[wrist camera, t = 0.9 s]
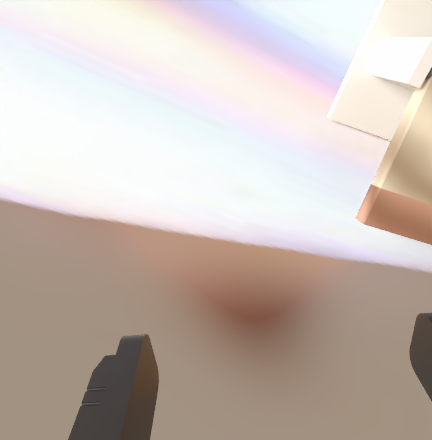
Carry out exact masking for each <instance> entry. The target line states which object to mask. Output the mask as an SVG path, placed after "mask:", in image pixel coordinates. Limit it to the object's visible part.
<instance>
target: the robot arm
mask: <svg viewBox="0 0 432 440" xmlns="http://www.w3.org/2000/svg"><path fill="white" fill-rule="evenodd" d="M410 360H411V364H412V367H413V369H414V371H415V373H416V375H417V377H418V378H419V380H420V382H421V384H422V385H423V387H424V389H425V390H426V392H427V394H428V395H429V397H430V399H431V401H432V313H422V314H419V315H418V316H417V318H416V322H415V327H414V332H413V336H412V341H411V346H410ZM158 382H159V376H158V367H157V363H156V360H155V356H154V353H153V349H152V345H151V342H150V338H149V336H148V335H147V334H145V335H132V336H123V337H122V338H121V340H120V343H119V346H118V350H117V353H116V355H109V356H105V357H104V358H103V359H102V361H101V362H100V363H99V364H98V366H97V367H96V368H95V369H94V371H93V373H92V376H91V378H90V381H89V384H88V387H87V392H85V395H84V398H83V400H82V406H81V407H80V409H79V412H78V414H77V417H76V420H75V423H74V425H73V428H72V431H71V434H70V436H69V439H68V440H150V435H151V429H152V423H153V417H154V411H155V405H156V399H157V392H158V384H159V383H158Z"/></svg>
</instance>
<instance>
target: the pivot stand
mask: <svg viewBox="0 0 432 440" xmlns="http://www.w3.org/2000/svg"><path fill="white" fill-rule="evenodd" d="M431 67H432V0H380V2H379V4H378V6H377V8H376V10H375V12H374V15H373V17H372V19H371V21H370V23H369V26H368V28H367V30H366V32H365V34H364V36H363V39H362V41H361V43H360V45H359V47H358V49H357V52H356V54H355V56H354V58H353V60H352V63H351V65H350V67H349V69H348V71H347V73H346V76H345V78H344V80H343V82H342V84H341V86H340V89H339V91H338V93H337V95H336V97H335V100H334V102H333V104H332V106H331V108H330V110H329V113H328V115H327V118H329V119H331V120H334V121H336V122H339V123H342V124H345V125H348V126H351V127H354V128H357V129H359V130H362V131H365V132H368V133H371V134H374V135H377V136H379V137H382V138H385V139H388V140H392V138H393V136H394V134H395V131H396V129H397V127H398V125H399V123H400V120H401V118H402V116H403V114H404V112H405V109H406V107H407V105H408V103H409V101H410V98H411V96H412V94H413V92H414V90H415V87H417V88H420V87H421V85H422V84H423V82H424V80H425V78H426V76H427V75H428V73H429V71H430V69H431Z"/></svg>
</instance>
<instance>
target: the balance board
mask: <svg viewBox="0 0 432 440" xmlns="http://www.w3.org/2000/svg"><path fill="white" fill-rule="evenodd" d="M356 219H358V220H359V221H360V222H362V223H363V224H365V225H369V226H372V227H375V228H378V229H382V230H385V231H388V232H391V233H395V234H398V235H401V236H405V237H408V238H411V239H414V240H418V241H421V242H424V243H427V244H431V245H432V67H431V69H430V71H429V73H428V75H427V76H426V78H425V80H424V82H423V84H422V85H421V87H420V88H417V87H415V90H414V92H413V94H412V96H411V98H410V101H409V103H408V105H407V107H406V109H405V112H404V114H403V116H402V118H401V120H400V123H399V125H398V127H397V129H396V131H395V134H394V136H393V138H392V140H391V142H390V145H389V147H388V149H387V151H386V154H385V156H384V158H383V160H382V162H381V165H380V167H379V169H378V171H377V173H376V176H375V178H374V180H373V182H372V184H371V186H370V188H369V190H368V192H367V194H366V197H365V199H364V201H363V203H362V205H361V208H360V210H359V212H358V214H357V216H356Z"/></svg>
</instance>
